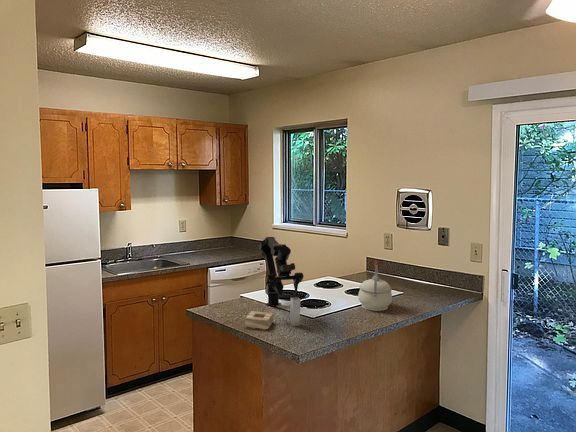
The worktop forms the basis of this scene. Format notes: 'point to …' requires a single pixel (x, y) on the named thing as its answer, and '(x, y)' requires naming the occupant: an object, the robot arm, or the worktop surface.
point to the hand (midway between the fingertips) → (287, 293)
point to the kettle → (375, 292)
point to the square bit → (295, 311)
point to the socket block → (259, 320)
